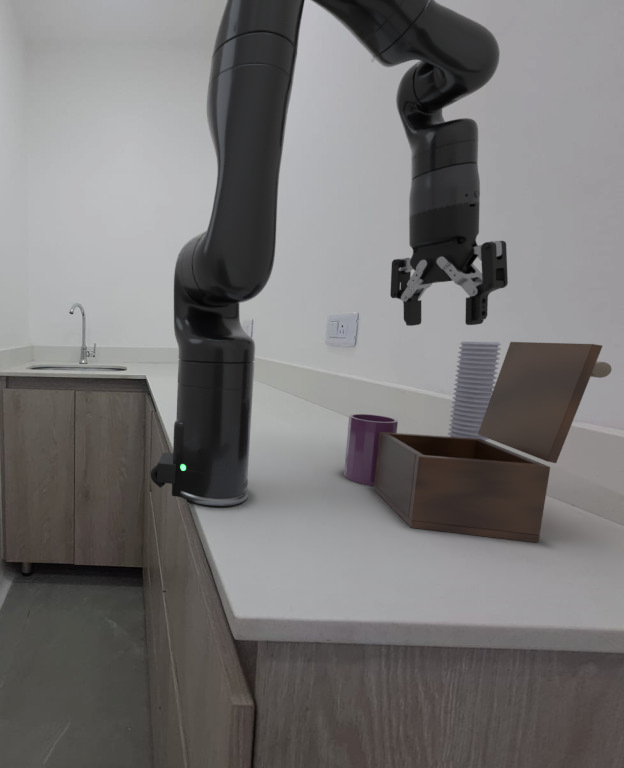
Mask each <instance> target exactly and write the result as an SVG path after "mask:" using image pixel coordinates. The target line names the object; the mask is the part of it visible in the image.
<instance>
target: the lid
mask: <svg viewBox="0 0 624 768" xmlns="http://www.w3.org/2000/svg"><path fill="white" fill-rule="evenodd" d="M602 349H603V345H601V344H595V343H572V342H571V343H569V342H567V343H565V342H534V341H531V342H530V341H510V342H509V345H508V347H507V351H506V353H505V357H504V359H503V362H502V365H501V368H500V370H499V373H498V376H497V379H496V381H495V382H496V383H495V384H494V389H492V391H493V393H492V394H491V395H492V396H491V398H490V401H489V404H488V407H487V410H486V412H485V415H484V418H483V421H482V424H481V427H480V429H479V432H478V435H481V436H483V437H486V438H488V440H491V441H493V442H497V443H499V444H502V445H504V446H506V447H509V448H512V449H514V450H516V451H519V452H522V453H524V454H527V455H529V456H533V457H535V458H537V459H540V460H543V461H545V462H547V463H553V464H557V462H558V460H559V457H560V455H561V452H562V450H563V447H564V445H565V442H566V440H567V437H568V434H569V432H570V430H571V427H572V425H573V423H574V420H575V416H576V414H577V412H578V409H579V407H580V404H581V402H582V399H583V396H584V394H585V392H586V389H587V387H588V384H589V382H590V379H591V378H598V379H601V378H602V379H603V378H606V377H607V376H609V375H610V374H611V373H612V366H611V364H610V363H608V362H606V361H598V358H599V357H600V354H601V351H602Z"/></svg>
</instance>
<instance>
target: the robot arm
mask: <svg viewBox="0 0 624 768" xmlns="http://www.w3.org/2000/svg"><path fill="white" fill-rule="evenodd" d="M310 1H311V2H312V3H314V4H316V5H317V6H318V7H320V8H321V9H323V10H324V11H325V12H327V13H328V14H329V15H331V16H332V17H333V18H334V19H335V20H336V21H337V22H339V23H340V25H342V26H343V27H344V28H345V29H346V30H347V31H348V32H349V33H350V34H351V35H352V36H353V37H354V38H355V40H356V41H357V42H359V44H360V45H361V46H362V47H363V48H364V49H365V50H366V51H367V52H368V54H369V55H370V56H372V58H373V59H374V60H375V61H376V62H378V64H379V65H381V66H383V67H384V68H392V67H397V66H399V65H402V64H404V63H407V62H410V61H417V62H415V63H414V64H413V65H411V66H410V67H409V68H408V69H407V70H406V72H405V73H404V74H403V76H402V77H401V79H400V81H399V83H398V87H397V89H396V94H395V104H396V109H397V113H398V116H399V119H400V122H401V124H402V127H403V130H404V134H405V137H406V139H407V142H408V143H407V144H408V145H409V149H410V152H411V156H410V157H411V158H410V162H411V163H410V174H411V175H410V180H411V181H410V191H409V199H408V225H409V226H408V227H409V228H408V229H409V231H408V232H409V233H408V234H409V239H408V240H409V241H408V242H409V247H410V248H411V249H412V255H411V257H403V258H396V259H393V260H392V261H391V269H390V271H391V273H390V276H391V277H390V293H389V294H390V297H391V299H398V300H400V301H402V303H403V321H404V323H405V325H406V326H407V327H413V326H419V325H421V324H422V299H420V298H422V297H423V295H424V293H425V292H426V290H427V289H429V288H430V287H431V286H432V285H433V284H437V283H446V282H453V283H454V284H456V285H457V286H459V287H461V288H462V289H463V291H464V292H465V293H466V294H467V295H468V296H469V297H465V319H464V321H465V325H467V326H476V325H481V324H483V323H484V320H486V319H487V317H488V309H489V308H488V307H489V305H488V304H489V303H488V302H489V295H490V294H491V293H492V292H494V291H497V290H500V289H504V288H506V287H507V286H508V284H509V280H508V257H507V255H508V253H507V242H506V241H504V240H492V241H486V242H483V243H482V244H479V245H478V242H477V237H478V235H479V234H480V206H481V205H480V203H481V202H480V201H481V200H480V198H481V179H480V173H479V165H478V163H479V126H478V123H477V121H476V120H474V119H473V118H470V117H469V118H468V117H465V118H464V117H463V118H462V117H461V118H455V119H452V120H451V119H450V120H446V121H445V119H444V116H443V109H445V108H447V107H448V106H451V105H453V104H454V103H456V102H458V101H460V100H462V99H465V98H466V97H468V96H470V95H472V94H474V93H476V92H477V91H479V90H480V89H482V88H483V87H484V86H486V85H487V84H488V83H489V82H490V80H492V78H493V77H494V75H495V73H496V71H497V69H498V67H499V63H500V54H501V53H500V48H499V43H498V40H497V38H496V37H495V36H494V34H493V32H492V31H491V30H489V29H488V28H487V27H486V26H484V25H482V24H480V23H479V22H477V21H476V20H473V19H471V18H469V17H467V16H465V15H463V14H461V13H458V12H457V11H455V10H453V9H451V8H449V7H446V6H445V5H442V4H440V3H438V2H437V1H436V0H310ZM304 6H305V0H227V1H226V4H225V7H224V10H223V13H222V16H221V19H220V23H219V26H218V28H217V29H218V30H217V34H216V38H215V40H214V45H213V50H212V56H211V62H210V69H209V77H208V85H207V86H208V87H207V92H206V120H207V126H208V131H209V135H210V138H211V142H212V145H213V149H214V153H215V157H216V166H217V167H216V168H217V173H216V174H217V176H216V183H215V184H216V185H215V192H214V196H213V197H214V198H213V204H212V209H211V214H210V219H209V222H208V226H207V229H206V230H205V231H202V232H201V233H199V234H197V235H195V236H194V237H192V238H190V239H189V240H188V241H187V242H186V243H184V245H183V246H182V248H181V249H180V251H179V253H178V255H177V258H176V261H175V266H174V274H173V331H174V337H175V340H176V343H177V348H178V363H177V365H178V366H177V389H176V390H177V391H176V392H177V395H176V420H175V421H174V424H173V446H172V447H173V449H172V452H162V454H161V456H160V457H159V460H158V462H157V464H156V465H155V466H154V467H153V468H152V469H151V471H150V479H151V481H152V482H153V483H154V484H155V485H156V486H157V487H158V488H160V489H161V488H162V487H164V486H165V485H166V484H171V496H172V497H176V498H181V499H184V500H186V501H188V502H190V503H194V504H199V505H204V506H211V507H225V506H227V507H228V506H234V505H235V506H236V505H238V504H241V503H243V502H245V501H246V500H247V498H248V491H249V489H248V484H249V479H248V477H249V462H250V445H251V444H250V443H251V442H250V441H251V429H252V427H251V426H252V412H253V411H252V410H253V394H254V377H255V361H256V360H255V359H256V358H255V357H256V342H255V340H254V339H253V337H252V336H250V335H249V334H248V333H247V332H246V331H245V329H244V328H243V326H242V323H241V319H240V304H241V303H246V302H248V301H250V300H252V299H255V298H256V297H257V296H258V295H259V294H260V293H261V292H262V291H263V290H264V289H265V287H266V286H267V284H268V282H269V280H270V279H271V275H272V272H273V268H274V264H275V257H276V243H277V221H278V220H277V219H278V199H279V198H278V197H279V182H280V174H281V173H280V171H281V164H282V159H283V151H284V143H285V134H286V127H287V121H288V120H287V119H288V112H289V108H290V107H289V106H290V102H291V96H292V91H293V86H294V85H293V84H294V78H295V71H296V64H297V59H298V49H299V42H300V41H299V40H300V31H301V23H302V18H303V13H304V12H303V11H304ZM477 259H479V261H481V271H480V270H479V269H478V268H477V266H475V264H474V262H475V261H476V260H477ZM412 270H413V271H414V272H413V273H412ZM411 273H412V274H411Z"/></svg>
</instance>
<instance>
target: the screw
mask: <svg viewBox="0 0 624 768" xmlns="http://www.w3.org/2000/svg"><path fill="white" fill-rule="evenodd" d="M459 345H461V346H459V347H458V349H460V351H457V353H458V354H460V355H458V356H457V358H458V359H459V360H457V361H456V362H457V363H458V365H455V366H456V368H458V369H456V370H455V372H457V373H456V374H455V377H457V378H455V379H454V381H455V382H456V383H454V384H453V385H454V386H456V387H454V388H453V390H454V391H455V392H453V393H452V394H453V395H454V396H453V397H452V399H453V400H454V401H452V402H451V404H453V405H452V406H451V408H452V410H450V413H452V414H450V415H449V417H450V418H451V419H449V422H451V423H449V424H448V426H450V427H449V428H448V431H449V432H447V435H448V436H449V437H463V438H478V439H482V440H485V441H488V440H489V439H488V438H486V437H483V436H481V435H478V432H479V429H480V427H481V424H482V421H483V418H484V415H485V412H486V410H487V407H488V404H489V401H490V398H491V396H492V393H493V390H494V387H495V384H496V381H494V380H497V379H498V376H496V375H497V374H498V375H499V373H498V372H497V371H496V370H499V367H498V366H497V365H500V363H499V362H497V361H499V360H500V359H501V358H500V357H498V356H499V355H501V352H498V351H500V350H502V348H501V347H500V346H501V345H502V343H500V342H499V341H498V342H497V341H461V342H460V343H459Z"/></svg>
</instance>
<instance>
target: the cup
mask: <svg viewBox="0 0 624 768" xmlns="http://www.w3.org/2000/svg"><path fill="white" fill-rule="evenodd" d="M398 424H399V420H398V419H397V418H393V417H390V416H384V415H379V414H371V413H369V414H368V413H353V414H350V415H349V416H348V424H347V435H346V447H345V456H344V457H345V458H344V468H343V469H344V470H343V472H344V473H343V475H344V477H345V478H346V479H348V480H350V481H352V482H355V483H357V484H362V485H366V486H372V487H374V481H375V471H376V462H377V452H378V442H379V432H389V433H398V426H399V425H398Z"/></svg>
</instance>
